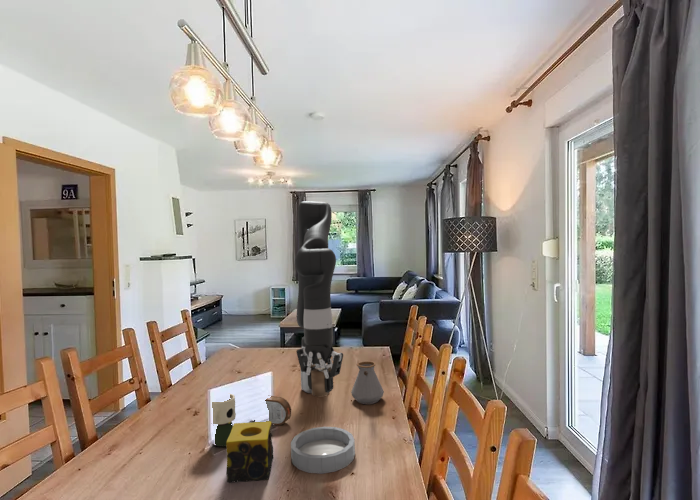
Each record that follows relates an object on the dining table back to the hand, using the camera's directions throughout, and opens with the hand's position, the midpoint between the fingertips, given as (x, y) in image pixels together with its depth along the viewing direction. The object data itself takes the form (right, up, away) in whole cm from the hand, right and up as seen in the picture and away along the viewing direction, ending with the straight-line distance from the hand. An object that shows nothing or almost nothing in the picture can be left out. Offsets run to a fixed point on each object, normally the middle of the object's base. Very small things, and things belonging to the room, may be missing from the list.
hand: (320, 389), depth 105 cm
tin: (-18, -18, +21) cm, 33 cm away
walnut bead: (0, -1, 0) cm, 1 cm away
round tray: (+1, -17, 0) cm, 17 cm away
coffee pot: (+14, -17, +32) cm, 38 cm away
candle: (-17, -18, -5) cm, 26 cm away
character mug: (-28, -19, +9) cm, 35 cm away
